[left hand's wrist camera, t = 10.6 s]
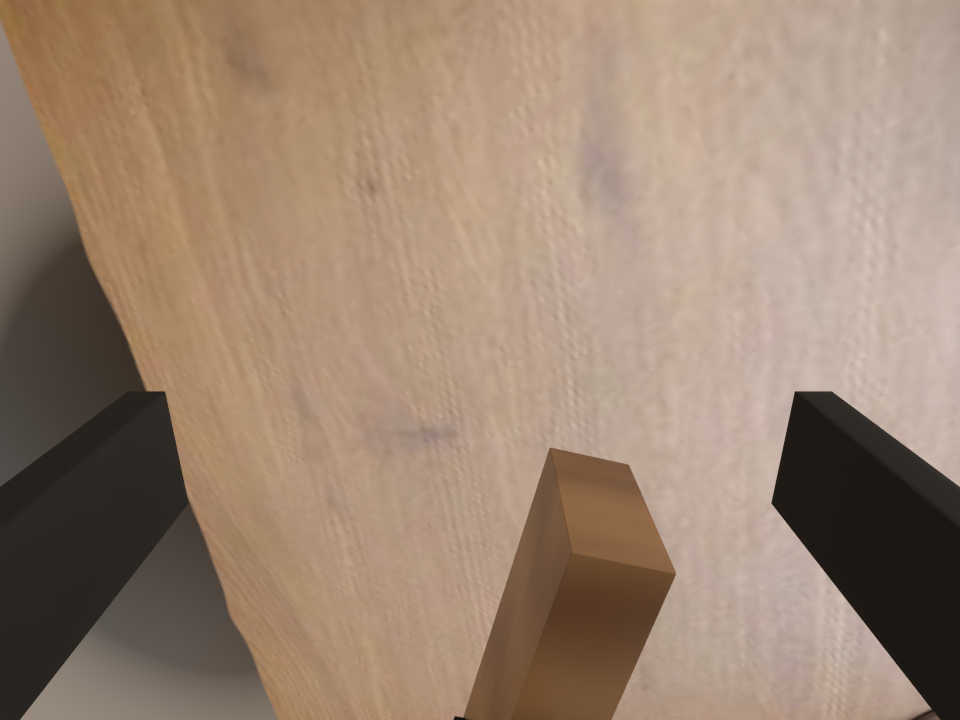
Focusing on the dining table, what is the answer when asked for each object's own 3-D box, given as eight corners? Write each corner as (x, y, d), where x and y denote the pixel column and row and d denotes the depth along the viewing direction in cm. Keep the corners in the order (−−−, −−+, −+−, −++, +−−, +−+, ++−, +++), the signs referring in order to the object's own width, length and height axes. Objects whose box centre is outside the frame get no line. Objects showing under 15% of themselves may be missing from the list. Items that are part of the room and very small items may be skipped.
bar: (549, 447, 33) (571, 552, 25) (628, 464, 33) (676, 573, 25) (450, 757, 41) (442, 911, 33) (514, 768, 42) (521, 923, 34)
